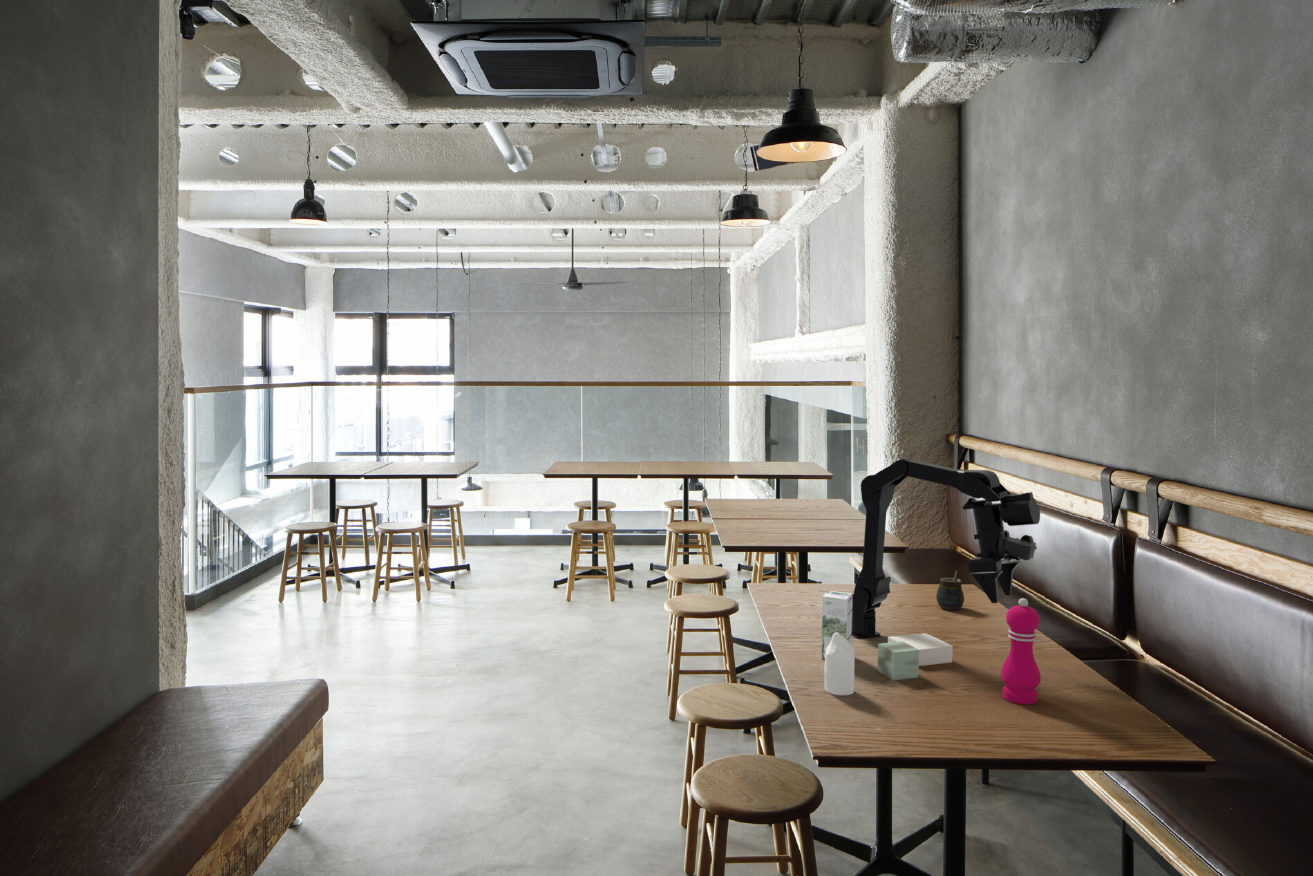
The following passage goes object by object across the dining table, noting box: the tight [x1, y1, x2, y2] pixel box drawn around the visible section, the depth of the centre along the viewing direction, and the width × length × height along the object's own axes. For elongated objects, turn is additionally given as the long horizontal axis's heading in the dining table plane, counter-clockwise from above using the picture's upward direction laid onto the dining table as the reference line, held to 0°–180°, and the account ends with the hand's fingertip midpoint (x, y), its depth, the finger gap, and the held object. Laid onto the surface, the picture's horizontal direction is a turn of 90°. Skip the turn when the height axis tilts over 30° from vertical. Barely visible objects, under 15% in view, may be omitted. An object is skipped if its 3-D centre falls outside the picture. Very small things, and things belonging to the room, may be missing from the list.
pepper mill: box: [1000, 597, 1042, 705], centre depth 163 cm, size 7×7×20 cm
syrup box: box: [820, 590, 853, 660], centre depth 187 cm, size 6×6×14 cm
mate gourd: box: [935, 570, 965, 611], centre depth 229 cm, size 7×8×10 cm
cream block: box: [887, 632, 954, 667], centre depth 188 cm, size 10×10×4 cm
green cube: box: [877, 641, 920, 681], centre depth 177 cm, size 6×6×6 cm
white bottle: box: [823, 633, 856, 696], centre depth 167 cm, size 6×12×6 cm
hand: (1001, 599), depth 182 cm, fingers open, 9 cm apart
